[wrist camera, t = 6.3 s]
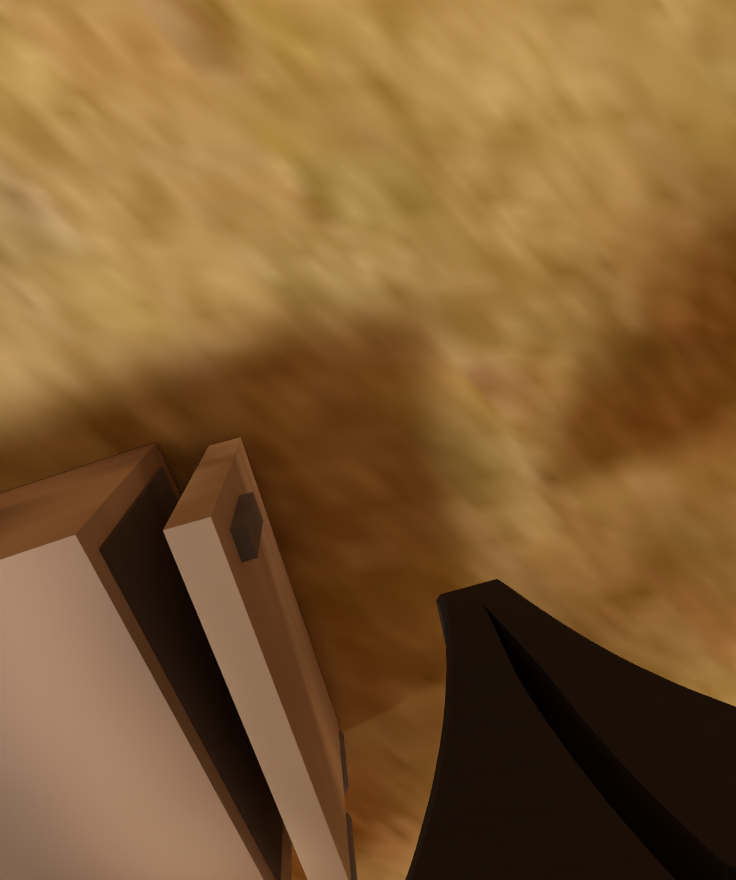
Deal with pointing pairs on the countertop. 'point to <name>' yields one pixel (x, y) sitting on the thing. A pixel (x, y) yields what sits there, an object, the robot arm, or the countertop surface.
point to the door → (265, 654)
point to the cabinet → (117, 695)
